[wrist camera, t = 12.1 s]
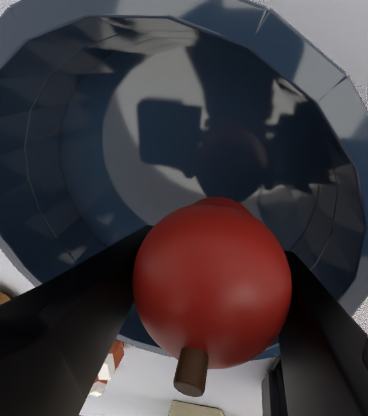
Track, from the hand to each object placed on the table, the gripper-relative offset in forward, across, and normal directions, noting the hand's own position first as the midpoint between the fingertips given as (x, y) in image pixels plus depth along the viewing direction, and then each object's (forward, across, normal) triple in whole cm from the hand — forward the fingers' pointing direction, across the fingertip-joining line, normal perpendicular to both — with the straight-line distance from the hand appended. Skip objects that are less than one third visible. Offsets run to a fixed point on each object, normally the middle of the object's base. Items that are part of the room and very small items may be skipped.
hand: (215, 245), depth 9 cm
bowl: (+4, +3, 0) cm, 5 cm away
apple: (+1, 0, 0) cm, 1 cm away
